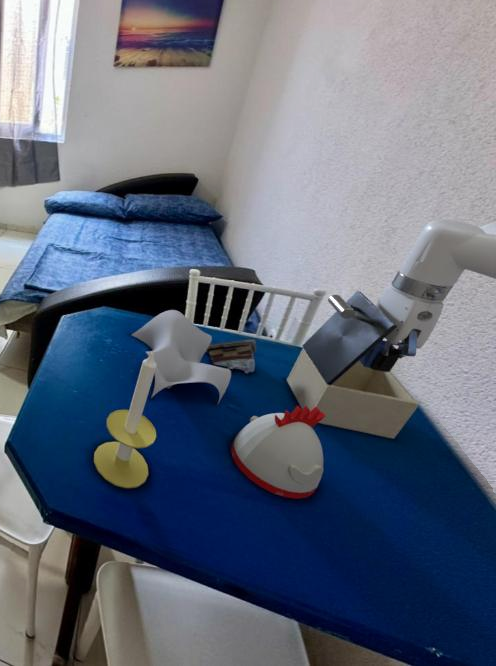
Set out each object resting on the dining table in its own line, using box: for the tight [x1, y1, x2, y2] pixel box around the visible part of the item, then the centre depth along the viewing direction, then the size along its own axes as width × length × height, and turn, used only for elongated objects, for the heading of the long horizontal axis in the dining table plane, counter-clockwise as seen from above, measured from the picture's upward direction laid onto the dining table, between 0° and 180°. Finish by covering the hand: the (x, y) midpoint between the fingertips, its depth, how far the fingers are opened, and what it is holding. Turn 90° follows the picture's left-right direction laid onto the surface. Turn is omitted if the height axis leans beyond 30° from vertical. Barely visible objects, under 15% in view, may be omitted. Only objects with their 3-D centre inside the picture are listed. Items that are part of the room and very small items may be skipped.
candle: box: [93, 350, 157, 489], centre depth 70 cm, size 10×10×27 cm
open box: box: [286, 347, 420, 440], centre depth 89 cm, size 16×14×10 cm
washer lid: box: [301, 290, 397, 385], centre depth 85 cm, size 16×14×7 cm
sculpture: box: [131, 309, 232, 406], centre depth 100 cm, size 25×19×10 cm
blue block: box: [359, 339, 400, 372], centre depth 84 cm, size 4×4×4 cm
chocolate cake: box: [205, 338, 258, 374], centre depth 103 cm, size 10×7×12 cm
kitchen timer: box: [230, 405, 326, 500], centre depth 74 cm, size 14×14×15 cm
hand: (372, 361), depth 85 cm, fingers closed on blue block, 4 cm apart
